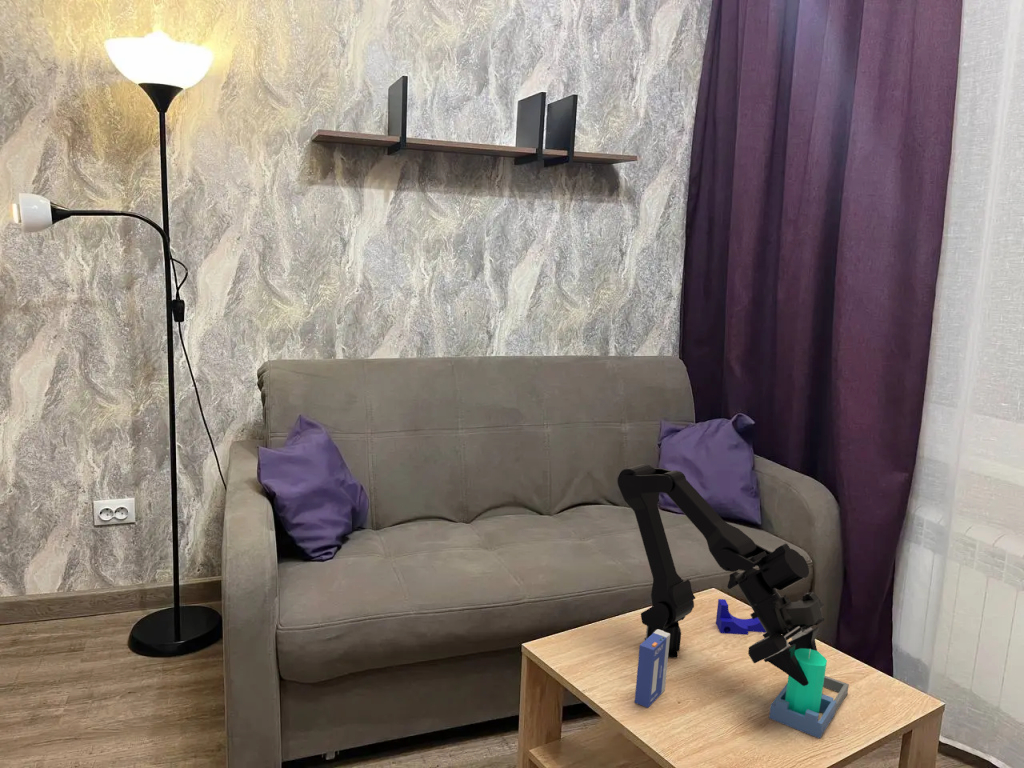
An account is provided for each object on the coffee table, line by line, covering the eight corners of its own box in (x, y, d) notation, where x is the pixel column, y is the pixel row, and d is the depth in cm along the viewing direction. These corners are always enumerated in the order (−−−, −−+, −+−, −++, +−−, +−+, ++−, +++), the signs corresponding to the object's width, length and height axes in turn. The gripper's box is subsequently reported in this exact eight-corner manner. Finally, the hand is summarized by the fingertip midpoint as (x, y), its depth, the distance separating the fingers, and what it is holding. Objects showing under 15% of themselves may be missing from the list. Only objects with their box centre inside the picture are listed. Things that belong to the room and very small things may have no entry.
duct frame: (819, 739, 142) (822, 718, 141) (768, 719, 147) (771, 699, 146) (847, 693, 157) (850, 674, 156) (800, 676, 162) (802, 658, 161)
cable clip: (720, 633, 178) (723, 608, 177) (715, 623, 182) (718, 599, 181) (775, 636, 178) (778, 611, 177) (769, 626, 182) (772, 602, 181)
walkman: (648, 708, 149) (653, 648, 146) (634, 702, 150) (639, 643, 148) (665, 689, 155) (671, 631, 153) (652, 684, 157) (657, 626, 154)
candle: (794, 719, 145) (803, 658, 142) (778, 699, 151) (786, 640, 148) (825, 717, 146) (834, 656, 144) (808, 697, 152) (816, 639, 149)
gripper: (772, 597, 140) (826, 683, 134) (820, 568, 153) (871, 646, 148) (726, 621, 147) (775, 704, 141) (776, 592, 160) (823, 666, 155)
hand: (813, 679), depth 146 cm, fingers closed on candle, 5 cm apart
